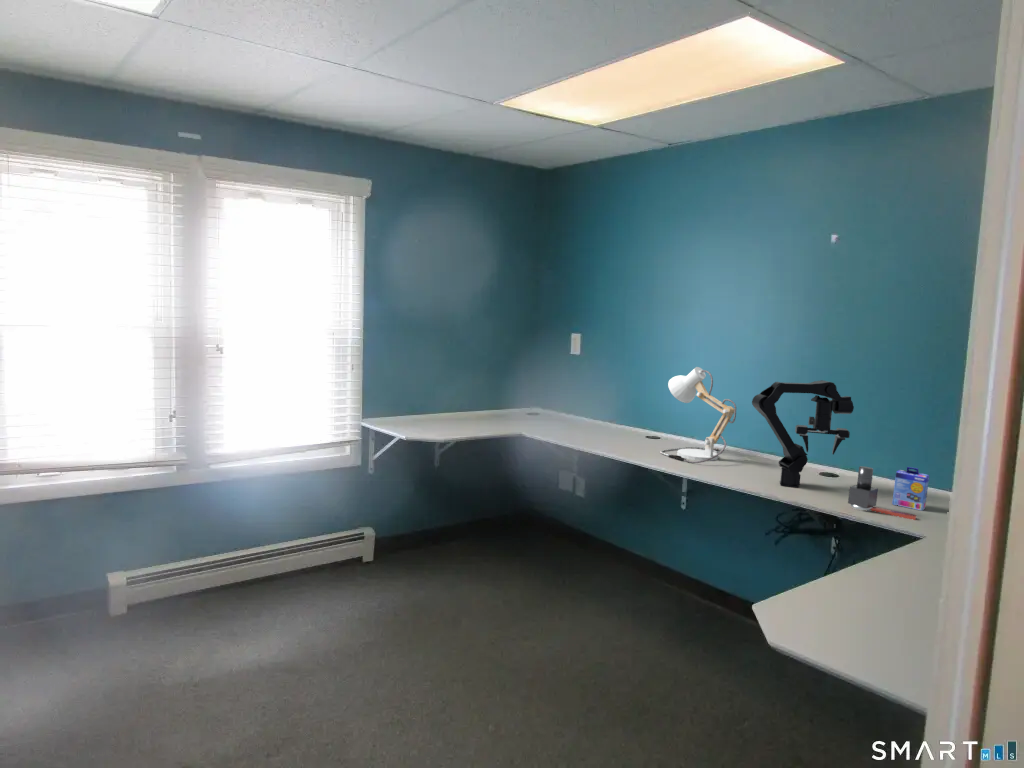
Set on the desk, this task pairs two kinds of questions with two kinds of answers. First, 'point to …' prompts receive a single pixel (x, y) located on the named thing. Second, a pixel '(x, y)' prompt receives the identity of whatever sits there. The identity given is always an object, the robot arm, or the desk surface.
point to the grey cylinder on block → (863, 489)
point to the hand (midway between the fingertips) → (820, 453)
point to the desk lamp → (686, 392)
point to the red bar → (887, 511)
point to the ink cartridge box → (910, 489)
